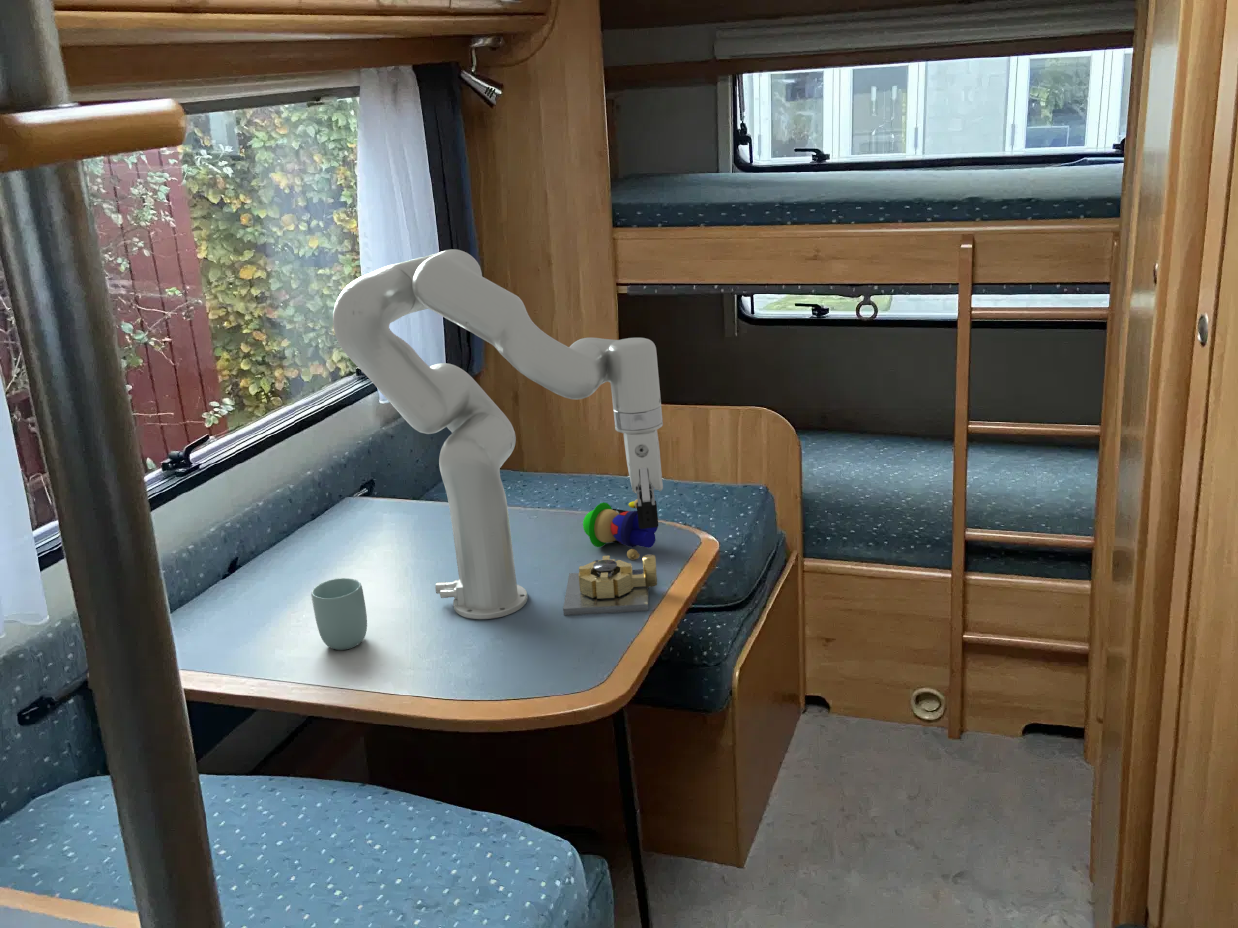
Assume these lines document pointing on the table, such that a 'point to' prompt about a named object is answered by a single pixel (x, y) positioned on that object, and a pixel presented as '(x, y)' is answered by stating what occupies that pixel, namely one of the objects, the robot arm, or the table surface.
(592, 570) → the ring nut
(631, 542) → the toy
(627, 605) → the base plate
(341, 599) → the cup
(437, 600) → the table surface
